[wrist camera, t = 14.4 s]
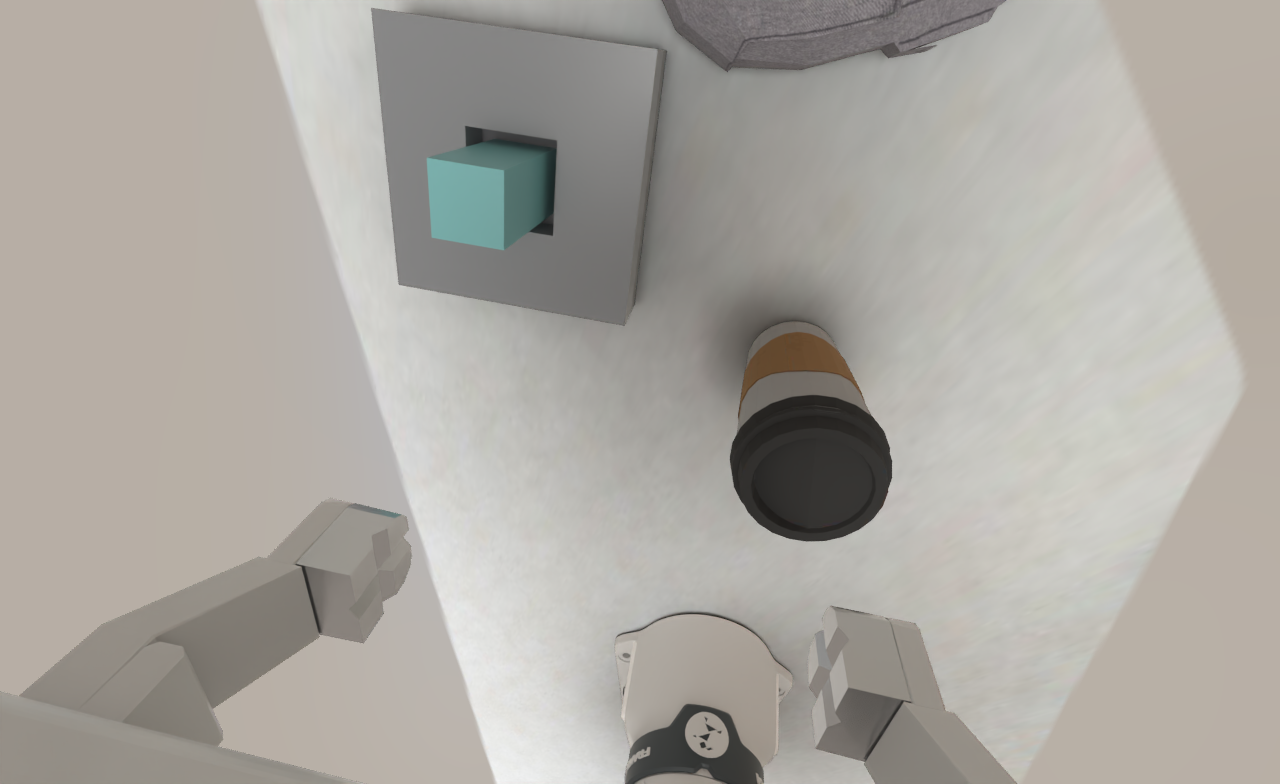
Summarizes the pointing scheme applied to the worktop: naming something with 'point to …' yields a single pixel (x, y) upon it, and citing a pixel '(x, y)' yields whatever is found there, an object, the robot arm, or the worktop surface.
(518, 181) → the plug
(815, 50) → the small grey backpack
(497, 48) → the socket
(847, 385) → the coffee cup
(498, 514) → the worktop surface
